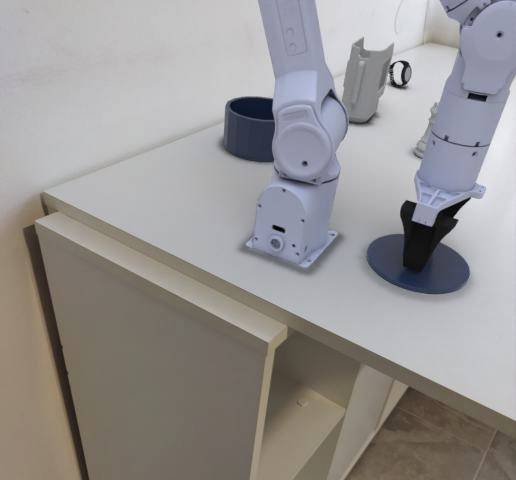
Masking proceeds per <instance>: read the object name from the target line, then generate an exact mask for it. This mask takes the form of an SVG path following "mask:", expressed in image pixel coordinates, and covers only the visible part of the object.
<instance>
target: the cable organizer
mask: <svg viewBox="0 0 516 480" xmlns="http://www.w3.org/2000/svg"><path fill="white" fill-rule="evenodd" d="M364 44H365V37H364V36H361V37H360V38H358V39H357V40H355V41H354V42H353V43H352V44H351V49H350V53H349V59H348V60H347V63H346V68H345V74H344V79H343V85H342V87H343V91H342V97H341V101H342V102H343V104H344V105H345V107H346V109H347V112H348V116H349V122H354V123H366V122H367V121H368V120H370V118H371V117H372V116H373V115H374V114H375V113H376V112H377V110H378V106H379V102H380V98H381V97H383V95H384V93H385V89H386V85H387V81H388V76H389V73H388V72H389V68H390V65H391V64H392V60H393V55H394V48H395V42H392V43H391V44H389V45H388V46H387V47H386V48H385V49H382V50H381V49H380V50H374V49H372V50H371V49H365V48H364Z"/></svg>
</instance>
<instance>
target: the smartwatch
mask: <svg viewBox="0 0 516 480" xmlns="http://www.w3.org/2000/svg"><path fill="white" fill-rule="evenodd" d="M398 63H400V64H402V65H403V66H402V69H401V72H400V80H401V84H397V82H396V81H395V78H394V67H395V65H396V64H398ZM412 70H413V69H412V67H411V65H410V62H409V61H406V60H397V61H394V62H391V64H390V68H389V72H388V75H389V81H390V84H391V85H392V87H394V88H400V87H403V86H404V87H405V86H406V85H408V83H409V82H410V81H411V78H412V73H413V71H412Z"/></svg>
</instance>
